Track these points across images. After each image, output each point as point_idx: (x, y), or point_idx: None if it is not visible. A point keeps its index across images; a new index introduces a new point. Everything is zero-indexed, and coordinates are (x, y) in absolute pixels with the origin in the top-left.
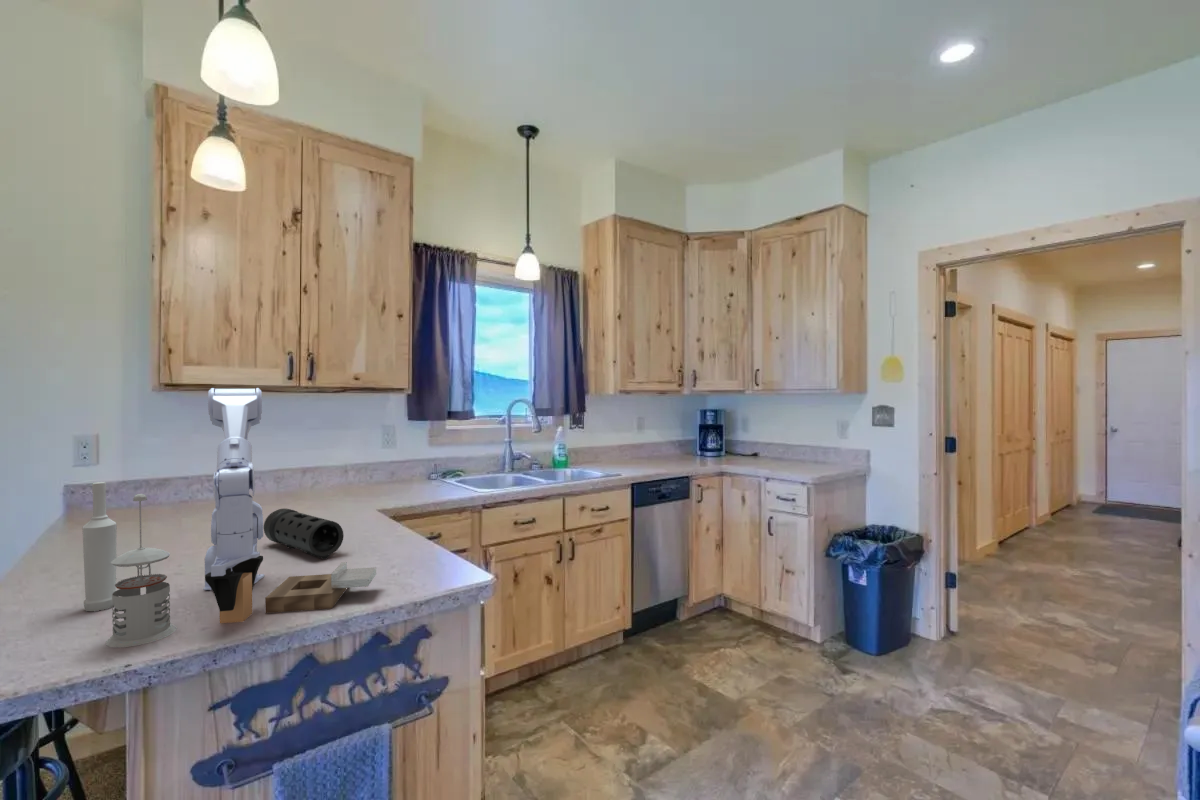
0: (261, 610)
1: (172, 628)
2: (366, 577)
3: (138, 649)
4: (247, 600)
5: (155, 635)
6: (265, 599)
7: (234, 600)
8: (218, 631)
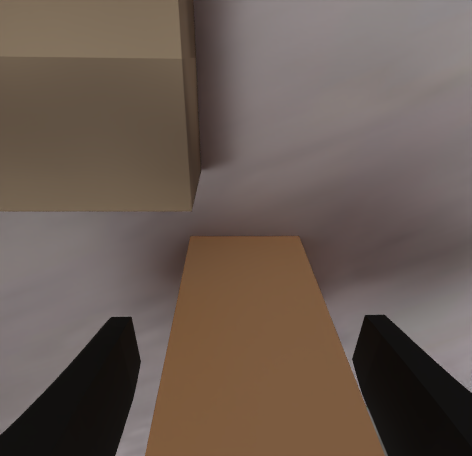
0: None
1: None
2: None
3: None
4: (256, 297)
5: (375, 430)
6: (192, 204)
7: (419, 354)
8: (385, 288)
